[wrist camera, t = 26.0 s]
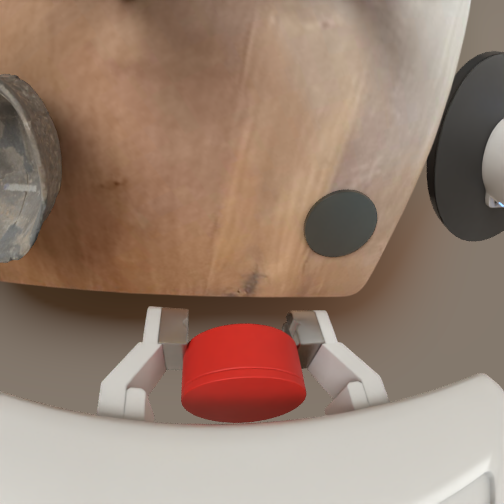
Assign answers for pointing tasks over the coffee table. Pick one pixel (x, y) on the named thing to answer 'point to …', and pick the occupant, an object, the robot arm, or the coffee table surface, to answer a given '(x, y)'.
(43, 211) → the bowl
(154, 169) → the coffee table surface
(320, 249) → the coaster
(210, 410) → the cap
